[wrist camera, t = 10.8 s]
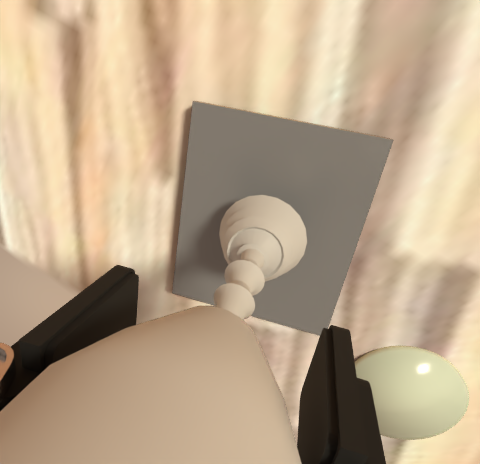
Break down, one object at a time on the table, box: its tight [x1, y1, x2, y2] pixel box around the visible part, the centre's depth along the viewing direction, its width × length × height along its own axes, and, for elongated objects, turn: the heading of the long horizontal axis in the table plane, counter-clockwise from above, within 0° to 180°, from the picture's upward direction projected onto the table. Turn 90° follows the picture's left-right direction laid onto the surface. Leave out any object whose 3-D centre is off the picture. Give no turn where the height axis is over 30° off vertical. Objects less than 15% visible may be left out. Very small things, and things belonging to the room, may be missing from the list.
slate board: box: [172, 101, 393, 336], centre depth 20 cm, size 11×13×1 cm
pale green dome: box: [355, 346, 469, 440], centre depth 23 cm, size 8×8×1 cm
